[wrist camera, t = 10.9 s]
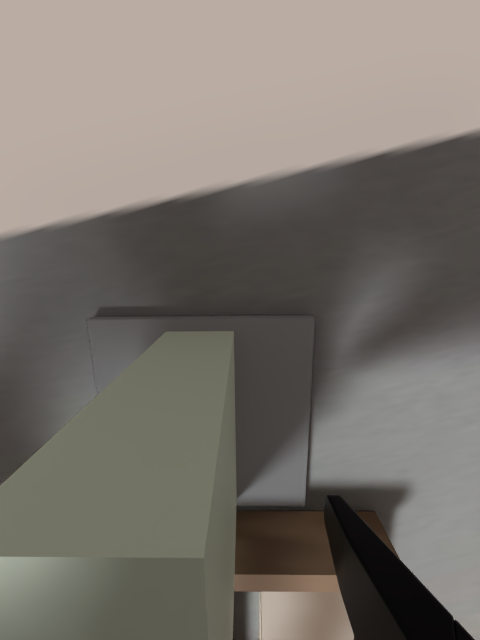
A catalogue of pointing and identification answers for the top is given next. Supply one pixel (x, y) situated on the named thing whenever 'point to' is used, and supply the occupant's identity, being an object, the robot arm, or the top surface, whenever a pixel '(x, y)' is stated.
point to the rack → (288, 551)
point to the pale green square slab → (130, 507)
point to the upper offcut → (304, 616)
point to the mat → (239, 390)
